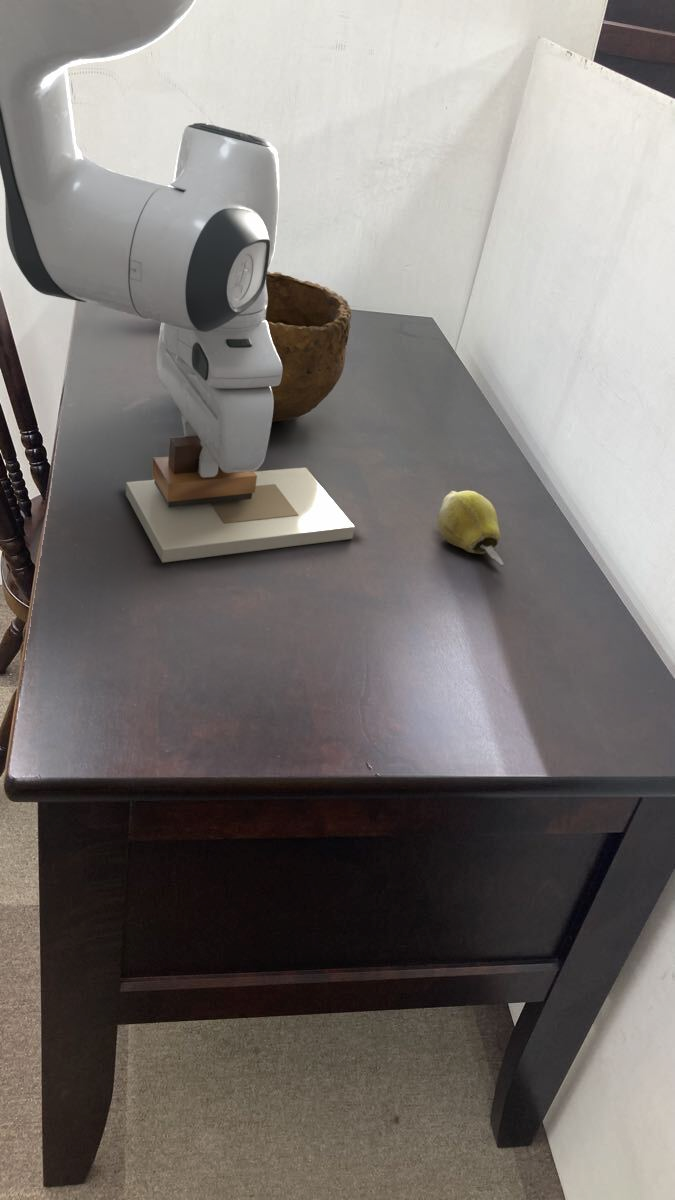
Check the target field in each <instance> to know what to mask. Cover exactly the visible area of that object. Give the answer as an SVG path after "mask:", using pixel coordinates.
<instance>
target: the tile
mask: <svg viewBox="0 0 675 1200" xmlns="http://www.w3.org/2000/svg"><path fill="white" fill-rule="evenodd" d="M254 472H255V474H256V475H257V480H256V488H255V493H252V498H251V499H245V500H235V501H226V502H217V503H207V504H198V505H189V506H179V507H170V508H169V507H168V505H167V504H166V502H165V500H164V499H163V497H162V495H161V493H160V492H159V490H158V488H157V487H156V485H155V483H154V481H155V479H148V480H138V481H137V480H136V481H126V483H125V496H126V498H127V499H128V501H129V503H130V505H131V507H132V509H133V511H134V513H135V514H136V517H137V519H138V520H139V522H140V524H141V526H142V527H143V529H144V532H145V533H146V535H147V537H148V539H149V540H150V542H151V544H152V547H153V549H154V551H155V552H156V553H157V556H158V557H159V560H160V562H161V563H171V562H179V561H187V560H194V559H203V558H210V557H211V558H212V557H219V556H225V555H226V556H227V555H234V554H243V553H251V552H256V551H259V552H260V551H266V550H275V549H282V548H289V547H296V546H305V545H313V544H321V543H330V542H337V541H345V540H352V539H353V537H354V533H355V529H356V527H355V524H353V523H352V522H351V520H350V519H349V518H348V516H347V515H346V514H345V513H344V512H343V510H342V509H341V508H340V506H338V505H337V503H336V502H335V501H334V499H333V498H332V497H331V496H330V495H329V494H328V492H327V491H326V490H325V489H324V487H323V486H322V485H321V483H319V482H318V480H317V479H316V478H315V477H314V476H313V474H312V473H311V472H310V471H309V469H308V468H307V467H294V468H281V469H270V470H269V469H268V470H255V471H254Z"/></svg>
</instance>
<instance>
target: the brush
mask: <svg viewBox="0 0 675 1200" xmlns="http://www.w3.org/2000/svg"><path fill="white" fill-rule="evenodd" d="M201 451H202V446H201V440H200V438H199V437H198V436H186V437H185V436H173V437H169V446H168V456H160V457H159V456H157V457H153V459H152V471H151V472H152V473H151V475H152V476H151V477H153V480H155V481H154V483H155V485H156V487H157V488H158V490H159V492H160V493H161V495H162V497H163V499H164V500H165V502H166V504H167V505H168V507H169V508H170V507H179V506H189V505H198V504H207V503H217V502H226V501H235V500H245V499H251V498H252V493H255V488H256V480H257V475H256V474H255V472H256V471H249V472H238V473H225V472H223V471H222V470H221V469H220V467H218V473H217V475H216V476H214V477H206V478H203V477H201V476H200V474H199V473H198V471H197V469H196V467H195V466H196V455H197V454H201Z"/></svg>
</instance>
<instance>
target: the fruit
mask: <svg viewBox="0 0 675 1200" xmlns="http://www.w3.org/2000/svg"><path fill="white" fill-rule="evenodd" d="M441 502H442V503H441V505H442V506H441V508H440V510H439V511H438V514H437V520H436V521H437V523H436V524H437V527H438V529H439V532H440V533H441V535H442V538H444V540H445V541H446V542H447V543H449V544H450V545H453V546H455V547H458V548H461V549H463V550H464V551H466V552H467V553H470V554H477V555H484V554H485V553H486V554H488V556H489V557H490V558H491V559H492V560H493V561H495V562H496V563H497V564H498V565H499V566H500V567H504V562H503V561H502V559H501V558H502V557H500V556H499V554H498V553H497V551H496V550H494V549H495V548H496V547H497V546H498V545H499V544H500V541H501V533H500V530H499V521H498V515H497V512H496V509H495V507H494V505H493V503H492V502H491V501H490V500H489V499H487V498H486V497H485V496H483V495H482V494H480V493H478V492H476V491H474V490H461V491H456V490H451V491H450V492H449V493H448V494H446V496H445V497H444V498H443V499H442V501H441Z"/></svg>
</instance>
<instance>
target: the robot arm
mask: <svg viewBox="0 0 675 1200" xmlns="http://www.w3.org/2000/svg"><path fill="white" fill-rule="evenodd" d="M196 2H197V0H0V174H1V177H2V183H3V188H4V200H5V201H4V203H5V205H4V206H5V207H4V208H5V230H6V231H5V232H6V239H7V243H8V246H9V250H10V253H11V255H12V257H13V261H14V262H15V263H16V265H17V267H18V269H19V270H20V272H21V274H22V275H23V276H24V278H25V279H26V282H28V283H29V285H31V287H32V288H33V289H34V290H35V291H36V292H39V293H40V294H42V295H45V296H49V297H50V296H51V297H55V298H60V299H66V300H70V301H75V302H82V303H89V304H93V305H97V306H100V307H103V308H106V309H111V310H114V311H117V312H120V313H124V314H128V315H130V316H131V315H132V316H135V317H138V318H141V319H145V320H152V321H155V322H159V323H160V328H159V334H158V342H157V351H156V352H157V353H156V360H155V361H156V362H155V365H156V374H157V379H158V381H159V383H161V385H162V387H163V388H164V389H165V391H166V392H167V394H168V395H169V396H170V398H171V400H172V401H173V402H174V404H175V405H176V407H177V408H178V410H179V411H180V413H181V422H182V428H183V433H184V437H186V436H198V437H199V438H200V440H201V446H202V451H201V454H197V455H196V466H195V467H196V469H197V471H198V473H199V474H200V476H201V477H203V478H206V477H214V476H216V475H217V473H218V467H220V469H221V470H222V471H223V472H225V473H238V472H249V471H254V472H256V471H258V469H259V468H260V467H261V466H262V465H263V464H264V462H265V459H266V456H267V451H268V446H269V441H270V437H271V436H270V435H271V431H272V430H271V429H272V423H273V421H272V417H273V407H274V400H273V392H272V389H271V387H270V386H278V385H279V384H280V382H281V378H282V371H283V368H282V363H281V360H280V358H279V356H278V354H277V352H276V349H275V347H274V345H273V342H272V339H271V336H270V331H269V325H268V322H267V321H266V320H265V319H266V310H267V304H268V294H267V288H266V275H267V271H268V270H269V267H270V264H271V262H272V260H273V258H274V254H275V250H276V249H275V248H276V240H277V231H278V221H279V220H278V219H279V207H280V205H279V204H280V165H279V157H278V151H277V149H276V148H275V147H274V146H273V145H272V144H271V143H270V142H269V141H268V140H266V139H265V138H262V137H260V136H257V135H252V134H248V133H245V132H241V131H239V130H233V129H228V128H224V127H221V126H218V125H214V124H210V123H206V122H205V123H204V122H197V123H193V124H188V125H186V126H185V127H184V129H183V132H182V135H181V137H180V138H181V139H180V142H179V148H178V152H177V158H176V163H175V169H174V175H173V181H171V182H170V185H164V184H161V183H157V182H153V181H149V180H146V179H143V178H140V177H139V178H138V177H136V176H131V175H127V174H124V173H120V172H117V171H113V170H111V169H108V168H106V167H104V166H102V165H100V164H99V163H96V162H95V161H93V160H92V159H90V158H89V157H88V156H87V155H85V154H84V153H83V152H82V151H81V149H79V148H78V146H77V143H76V134H75V125H74V115H73V109H72V101H71V92H70V82H69V76H68V75H69V73H68V68H70V67H73V66H78V65H82V64H89V63H97V62H107V61H113V60H117V59H121V58H124V57H127V56H130V55H132V54H135V53H138V52H139V51H141V50H143V49H145V48H147V47H149V46H151V45H152V44H154V43H156V42H157V41H159V40H161V38H163V37H164V36H166V35H167V34H169V32H171V31H172V30H173V29H174V28H175V27H176V26H177V25H178V24H180V22H181V21H182V20H183V19H184V18H186V16H187V15H188V13H189V12H190V11H191V10H192V8H193V6H194V5H195V4H196ZM268 272H269V271H268Z"/></svg>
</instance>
